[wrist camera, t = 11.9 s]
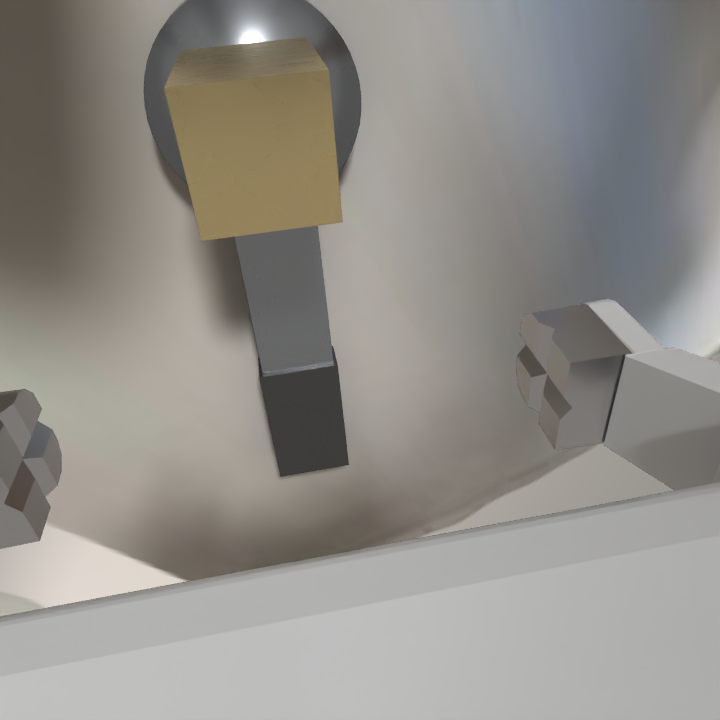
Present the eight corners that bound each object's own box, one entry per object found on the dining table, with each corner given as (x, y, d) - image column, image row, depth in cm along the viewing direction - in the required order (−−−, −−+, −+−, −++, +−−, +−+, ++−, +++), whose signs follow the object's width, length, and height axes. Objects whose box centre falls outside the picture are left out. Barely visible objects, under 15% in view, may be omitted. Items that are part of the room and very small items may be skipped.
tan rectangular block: (306, 37, 24) (328, 69, 18) (320, 161, 27) (342, 222, 21) (180, 50, 24) (164, 87, 18) (208, 175, 27) (201, 240, 21)
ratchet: (121, -11, 24) (99, 2, 20) (345, -31, 25) (367, -23, 21) (243, 460, 39) (245, 520, 35) (377, 437, 40) (393, 493, 36)
